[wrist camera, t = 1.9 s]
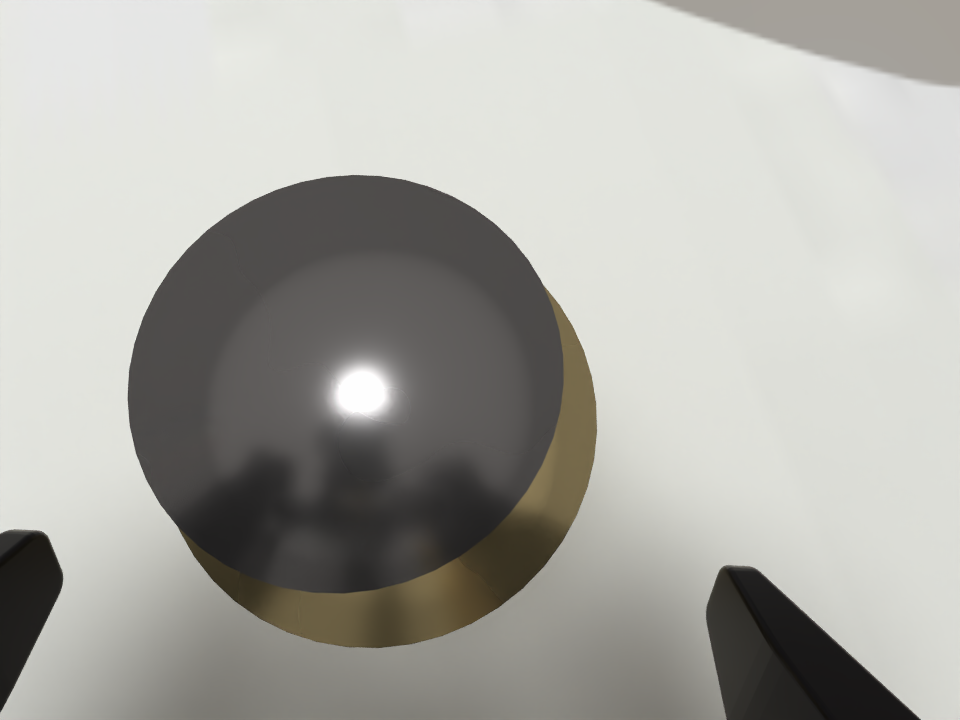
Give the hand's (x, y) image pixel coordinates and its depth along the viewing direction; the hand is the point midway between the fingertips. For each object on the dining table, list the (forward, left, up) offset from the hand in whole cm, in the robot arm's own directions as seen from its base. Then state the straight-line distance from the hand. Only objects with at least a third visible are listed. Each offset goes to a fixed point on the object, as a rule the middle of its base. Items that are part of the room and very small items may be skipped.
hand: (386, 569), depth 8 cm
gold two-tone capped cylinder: (+2, -1, -9) cm, 9 cm away
